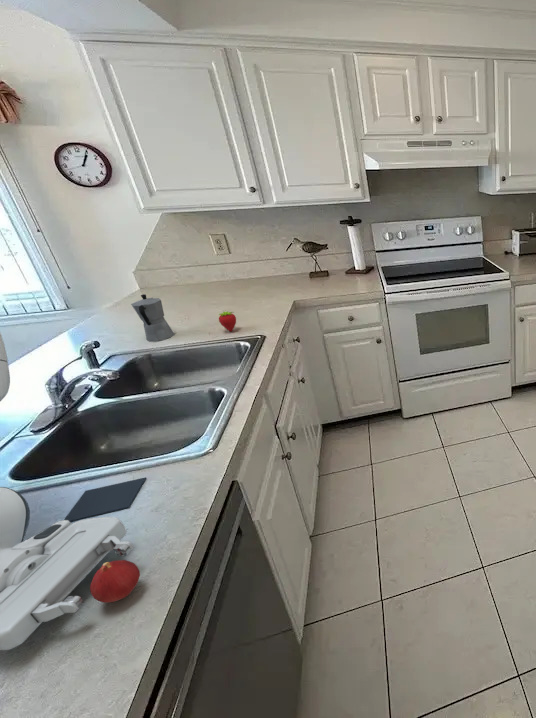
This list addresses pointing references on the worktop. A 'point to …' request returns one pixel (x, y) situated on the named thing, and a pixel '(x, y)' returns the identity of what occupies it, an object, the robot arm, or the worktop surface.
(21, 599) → the robot arm
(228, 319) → the strawberry
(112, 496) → the pad
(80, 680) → the worktop surface
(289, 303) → the worktop surface
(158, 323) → the coffeepot
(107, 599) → the red oval piece
